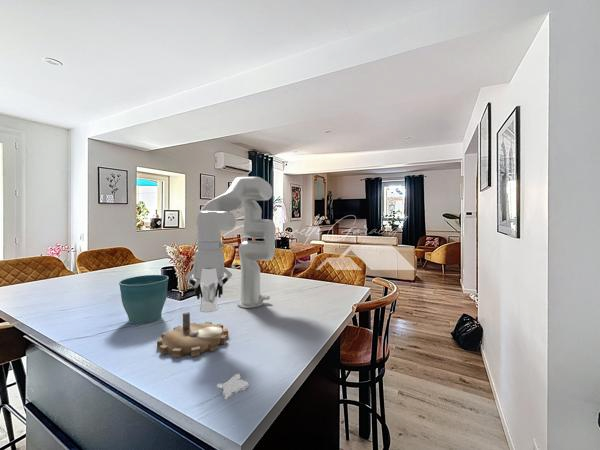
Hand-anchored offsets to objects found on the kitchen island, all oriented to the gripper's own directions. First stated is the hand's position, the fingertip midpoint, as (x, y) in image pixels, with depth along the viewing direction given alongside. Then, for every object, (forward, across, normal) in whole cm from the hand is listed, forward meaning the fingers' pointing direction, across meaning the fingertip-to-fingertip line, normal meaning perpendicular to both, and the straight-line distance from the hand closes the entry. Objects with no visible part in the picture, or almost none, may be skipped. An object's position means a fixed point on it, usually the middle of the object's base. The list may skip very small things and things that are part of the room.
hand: (209, 297), depth 95 cm
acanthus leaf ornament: (+16, -6, +29) cm, 34 cm away
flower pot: (+15, +26, -28) cm, 41 cm away
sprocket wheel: (+15, +5, 0) cm, 16 cm away
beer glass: (+5, 0, 0) cm, 5 cm away
